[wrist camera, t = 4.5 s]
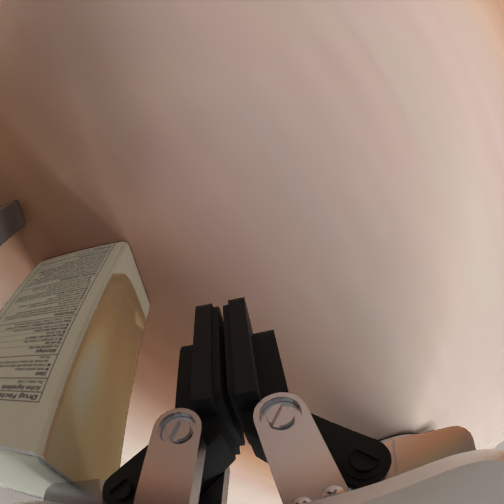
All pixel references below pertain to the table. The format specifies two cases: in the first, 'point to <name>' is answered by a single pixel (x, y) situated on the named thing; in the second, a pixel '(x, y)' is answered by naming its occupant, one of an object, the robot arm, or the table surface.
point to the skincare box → (69, 368)
